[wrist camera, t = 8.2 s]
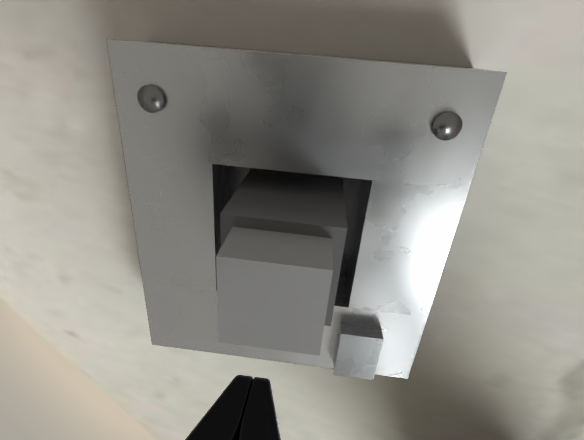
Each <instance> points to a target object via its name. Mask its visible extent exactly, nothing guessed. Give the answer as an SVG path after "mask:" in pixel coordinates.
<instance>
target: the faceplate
mask: <svg viewBox="0 0 584 440" xmlns="http://www.w3.org/2000/svg"><path fill="white" fill-rule="evenodd" d="M106 40H107V39H106ZM107 46H108V53H109V60H110V67H111V73H112V80H113V87H114V93H115V100H116V107H117V114H118V120H119V127H120V134H121V140H122V147H123V154H124V160H125V167H126V174H127V181H128V187H129V194H130V201H131V207H132V214H133V221H134V227H135V234H136V241H137V248H138V254H139V261H140V268H141V274H142V281H143V288H144V294H145V301H146V308H147V315H148V321H149V328H150V335H151V341H152V344H153V345H160V346H168V347H175V348H183V349H190V350H197V351H205V352H212V353H220V354H227V355H235V356H242V357H249V358H257V359H264V360H272V361H279V362H287V363H294V364H302V365H309V366H316V367H324V368H331V369H334V375H339V376H347V377H354V378H362V379H369V380H373V378H374V375H375V374H376V375H383V376H391V377H398V378H406V379H408V376H409V373H410V370H411V367H412V364H413V361H414V358H415V355H416V352H417V348H418V345H419V342H420V339H421V336H422V333H423V330H424V327H425V324H426V321H427V318H428V314H429V311H430V308H431V305H432V302H433V299H434V296H435V293H436V290H437V287H438V284H439V280H440V277H441V274H442V271H443V268H444V265H445V262H446V259H447V256H448V253H449V250H450V246H451V243H452V240H453V237H454V234H455V231H456V228H457V225H458V222H459V219H460V216H461V213H462V209H463V206H464V203H465V200H466V197H467V194H468V191H469V188H470V185H471V182H472V179H473V175H474V172H475V169H476V166H477V163H478V160H479V157H480V154H481V151H482V148H483V145H484V141H485V138H486V135H487V132H488V129H489V126H490V123H491V120H492V117H493V114H494V111H495V107H496V104H497V101H498V98H499V95H500V92H501V89H502V86H503V83H504V80H505V77H506V73H507V72H500V71H491V70H483V69H475V68H463V67H451V66H439V65H427V64H415V63H402V62H390V61H378V60H366V59H354V58H341V57H329V56H317V55H305V54H293V53H280V52H268V51H256V50H244V49H232V48H220V47H207V46H195V45H183V44H171V43H159V42H146V41H127V40H107ZM250 170H252V171H262V172H271V173H280V174H290V175H299V176H308V177H318V178H327V179H336V180H343V188H344V198H345V209H346V220H347V233H346V239H345V245H344V251H343V257H342V263H341V269H340V275H339V281H338V287H337V293H336V299H335V304H334V310H333V316H332V322H331V326H325V325H324V331H323V337H322V344H321V350H320V356H317V355H310V354H303V353H295V352H288V351H281V350H273V349H266V348H258V347H251V346H244V345H236V344H229V343H222V342H218V310H217V271H216V256H217V254H218V252H219V250H220V248H221V232H220V213H221V212H222V210H223V209H224V208H225V206H226V205H227V203H228V202H229V200H230V199H231V197H232V196H233V194H234V193H235V191H236V190H237V188H238V187H239V185H240V184H241V182H242V181H243V180H244V178H245V177H246V175H247V174H248V172H249V171H250Z"/></svg>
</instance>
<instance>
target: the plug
mask: <svg viewBox="0 0 584 440" xmlns="http://www.w3.org/2000/svg"><path fill="white" fill-rule="evenodd" d="M220 232H221V248H220V250H219V252H218V254H217V256H216V271H217V310H218V342H222V343H229V344H236V345H244V346H251V347H258V348H266V349H273V350H281V351H288V352H295V353H303V354H310V355H317V356H320V350H321V344H322V337H323V331H324V325H325V326H331V322H332V316H333V310H334V304H335V299H336V293H337V287H338V281H339V275H340V269H341V263H342V257H343V251H344V245H345V239H346V233H347V220H346V209H345V198H344V188H343V180H336V179H327V178H318V177H308V176H299V175H290V174H280V173H271V172H262V171H252V170H250V171H249V172H248V174H247V175H246V177H245V178H244V180H243V181H242V182H241V184H240V185H239V187H238V188H237V190H236V191H235V193H234V194H233V196H232V197H231V199H230V200H229V202H228V203H227V205H226V206H225V208H224V209H223V210H222V212H221V213H220Z"/></svg>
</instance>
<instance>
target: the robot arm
mask: <svg viewBox="0 0 584 440" xmlns="http://www.w3.org/2000/svg"><path fill="white" fill-rule="evenodd" d="M185 440H281V439H280V433H279V428H278V423H277V417H276V412H275V406H274V401H273V396H272V390H271V385H270V381H269V379H266V378H258V377H255V378H254V379H253V378H252V377H251V376H244V375H237V376H236V377H235V378H234V379H233V380H232V382H231V383H230V384H229V385H228V387H227V388H226V389H225V390H224V392H223V393H222V394H221V395H220V397H219V398H218V399H217V401H216V402H215V403H214V404H213V406H212V407H211V408H210V409H209V411H208V412H207V413H206V414H205V416H204V417H203V418H202V419H201V421H200V422H199V423H198V424H197V426H196V427H195V428H194V429H193V431H192V432H191V433H190V434H189V436H188V437H187V438H186V439H185Z"/></svg>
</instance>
